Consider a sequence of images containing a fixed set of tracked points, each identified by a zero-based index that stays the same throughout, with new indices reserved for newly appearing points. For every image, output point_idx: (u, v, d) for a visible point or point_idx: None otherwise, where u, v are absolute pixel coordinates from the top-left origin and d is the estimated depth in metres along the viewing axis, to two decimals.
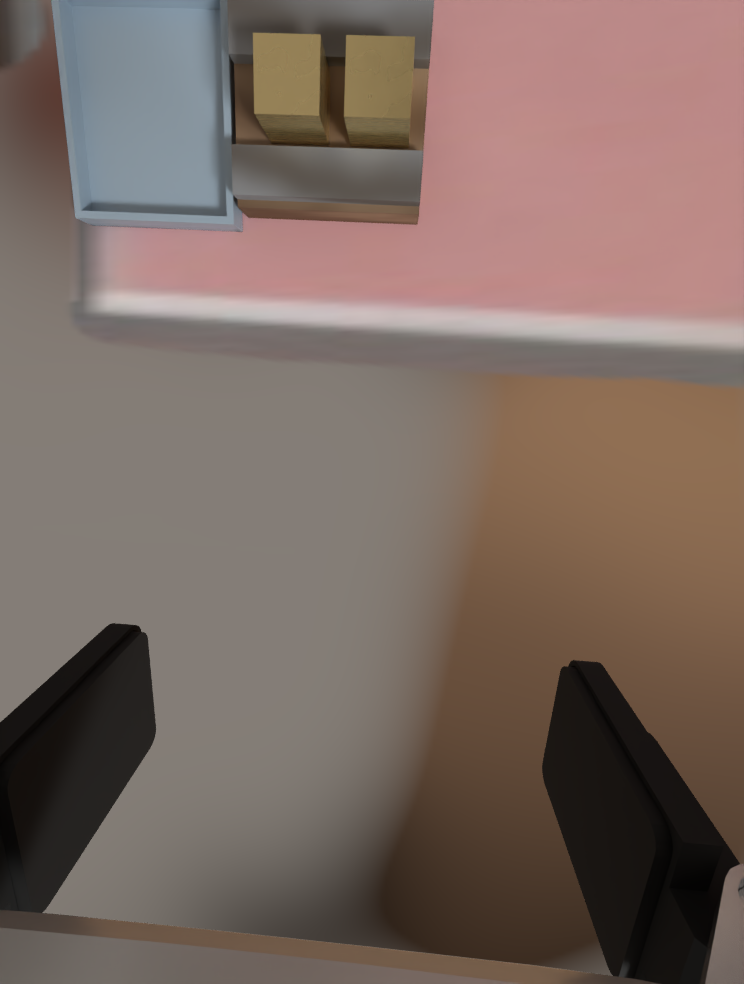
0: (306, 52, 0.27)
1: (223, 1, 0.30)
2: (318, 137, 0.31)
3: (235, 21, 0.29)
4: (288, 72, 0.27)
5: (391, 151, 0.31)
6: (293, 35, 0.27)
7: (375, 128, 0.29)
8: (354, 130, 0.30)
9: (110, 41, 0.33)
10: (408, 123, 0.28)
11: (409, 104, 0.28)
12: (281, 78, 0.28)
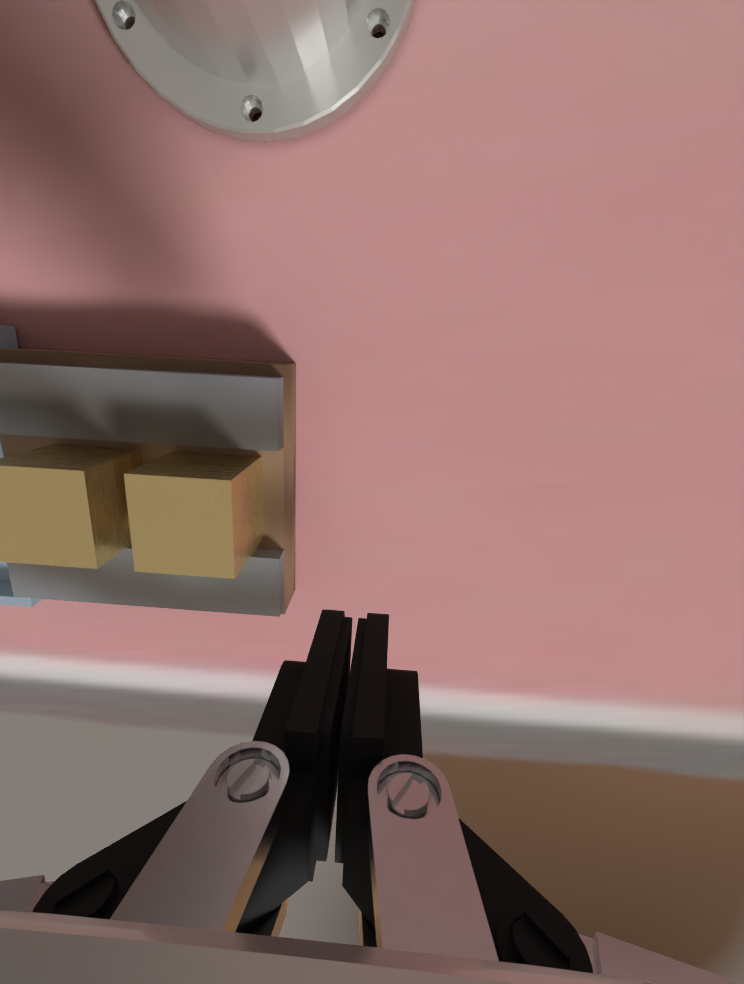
0: (65, 492, 0.17)
1: None
2: None
3: None
4: (41, 515, 0.18)
5: None
6: (44, 466, 0.17)
7: None
8: None
9: None
10: (238, 571, 0.19)
11: (232, 562, 0.18)
12: (32, 521, 0.18)
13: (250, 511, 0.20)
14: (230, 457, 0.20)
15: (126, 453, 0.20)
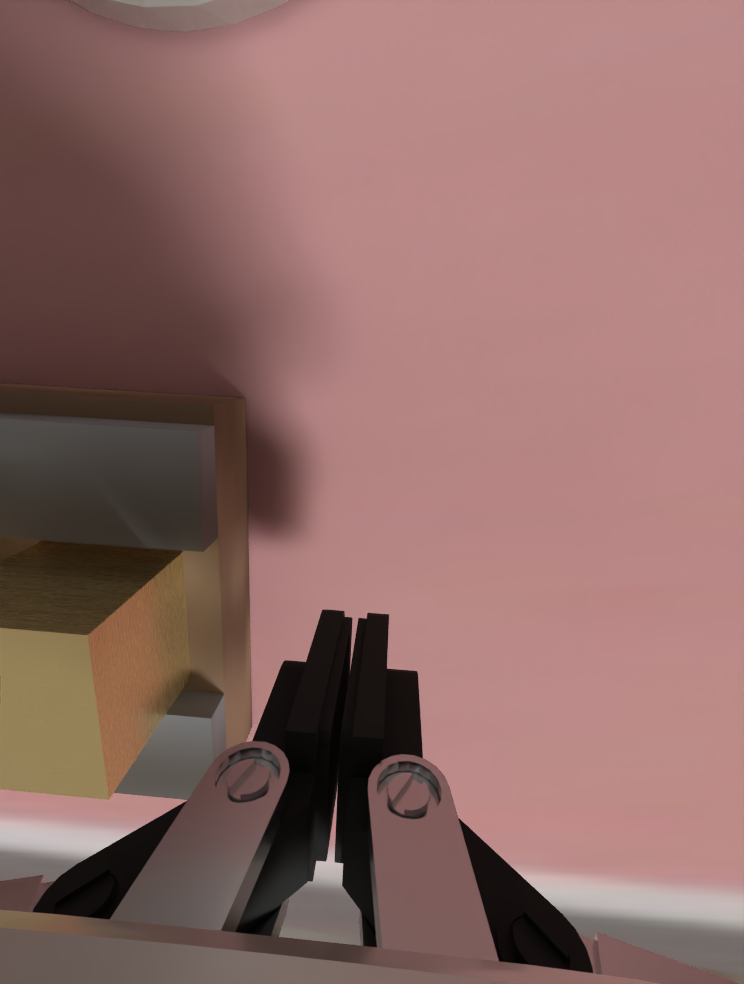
0: None
1: None
2: None
3: None
4: None
5: None
6: None
7: None
8: None
9: None
10: (123, 772, 0.10)
11: (102, 772, 0.10)
12: None
13: (154, 655, 0.11)
14: (127, 557, 0.12)
15: None
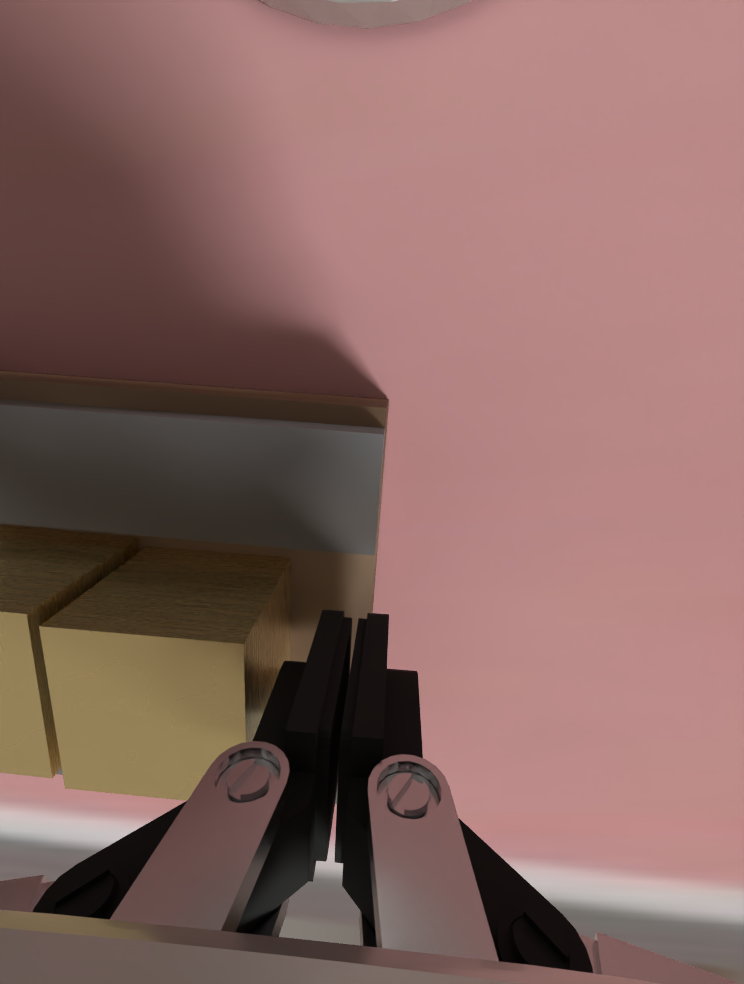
0: None
1: None
2: None
3: None
4: None
5: None
6: None
7: None
8: None
9: None
10: None
11: None
12: None
13: (273, 661, 0.11)
14: (240, 562, 0.12)
15: (114, 551, 0.12)
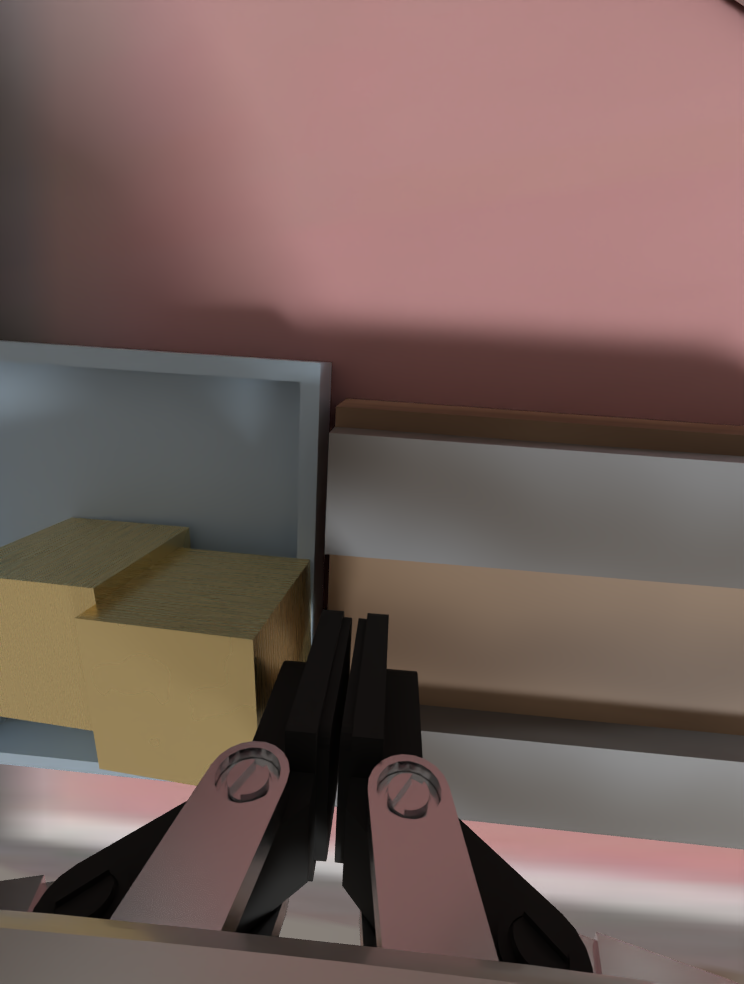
0: None
1: (308, 397, 0.12)
2: None
3: (347, 489, 0.11)
4: None
5: (721, 764, 0.12)
6: (10, 545, 0.12)
7: None
8: None
9: (32, 427, 0.14)
10: None
11: None
12: None
13: (290, 659, 0.12)
14: (261, 564, 0.13)
15: (56, 582, 0.11)
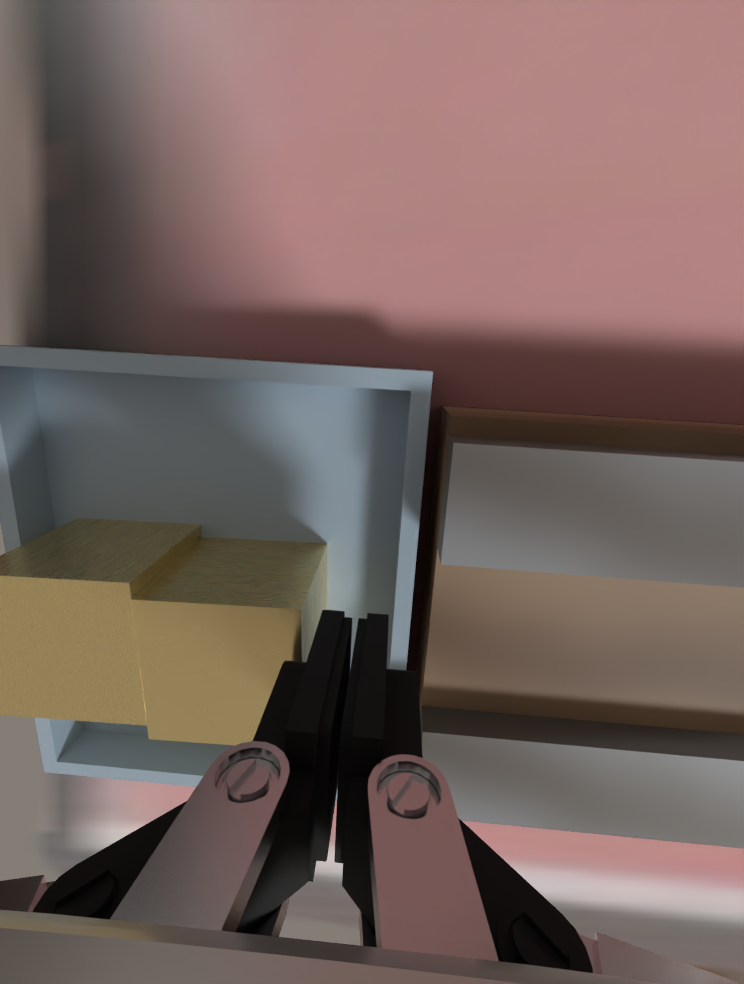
0: None
1: (418, 406, 0.12)
2: None
3: (469, 499, 0.11)
4: None
5: None
6: (26, 547, 0.12)
7: None
8: None
9: (123, 437, 0.14)
10: None
11: None
12: None
13: None
14: (284, 548, 0.14)
15: (89, 578, 0.11)
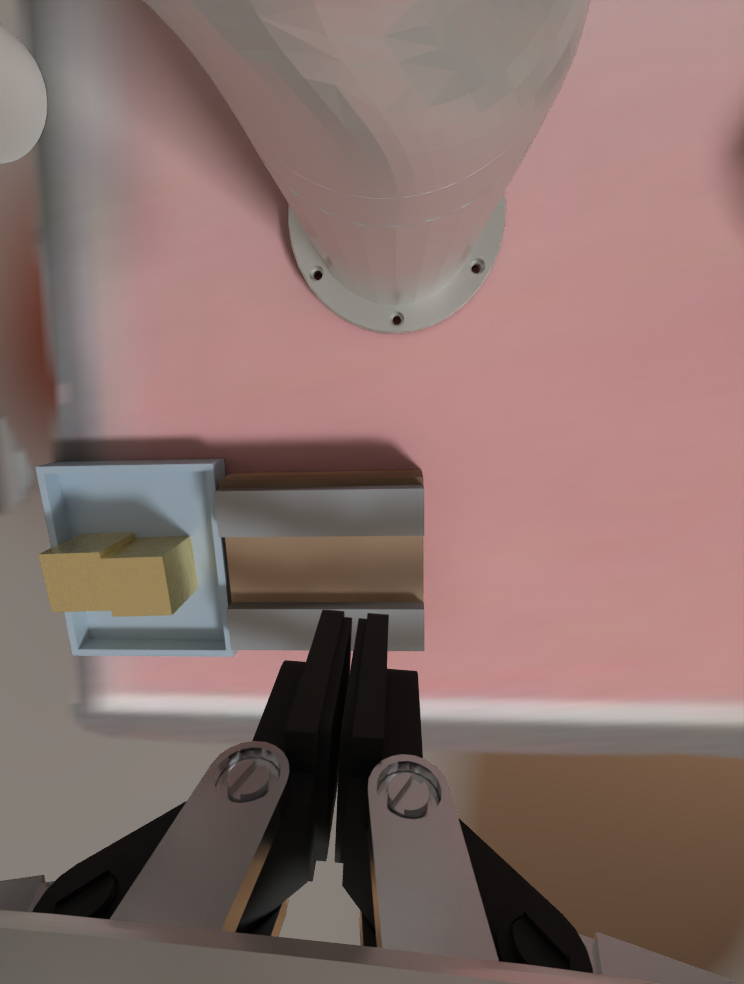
0: None
1: (210, 477, 0.30)
2: None
3: (223, 511, 0.29)
4: None
5: (391, 611, 0.30)
6: (59, 545, 0.31)
7: None
8: None
9: (99, 497, 0.32)
10: (175, 610, 0.30)
11: (169, 605, 0.29)
12: None
13: (182, 572, 0.31)
14: (169, 539, 0.32)
15: (84, 552, 0.29)
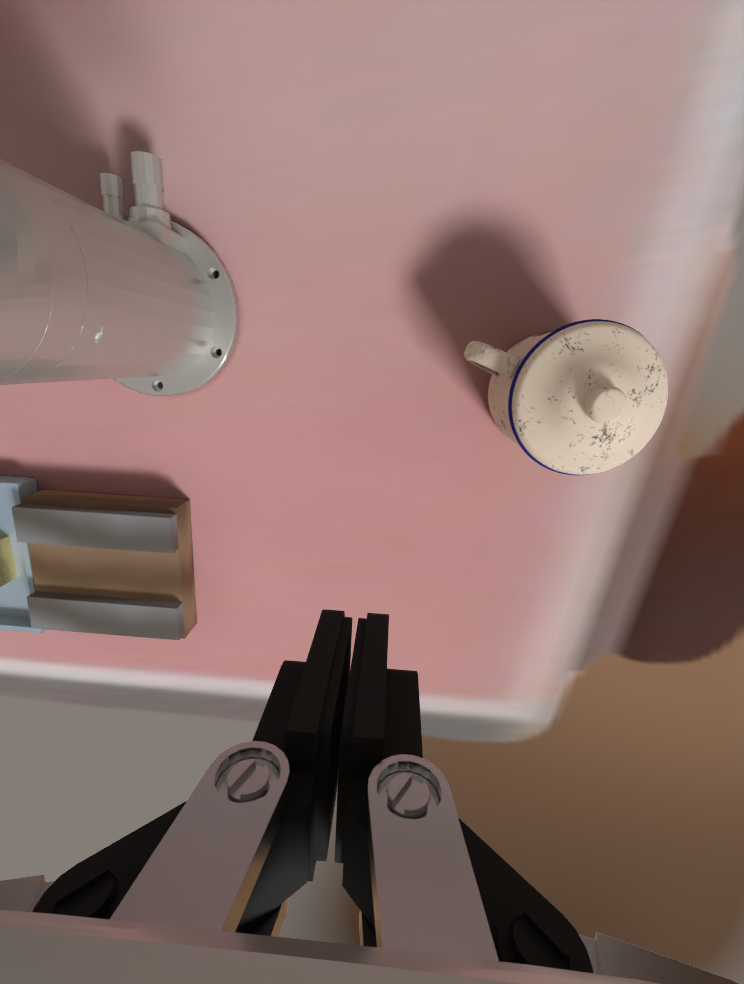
0: None
1: (15, 493, 0.38)
2: None
3: (19, 522, 0.37)
4: None
5: (152, 608, 0.39)
6: None
7: None
8: None
9: None
10: None
11: None
12: None
13: None
14: None
15: None
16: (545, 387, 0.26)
